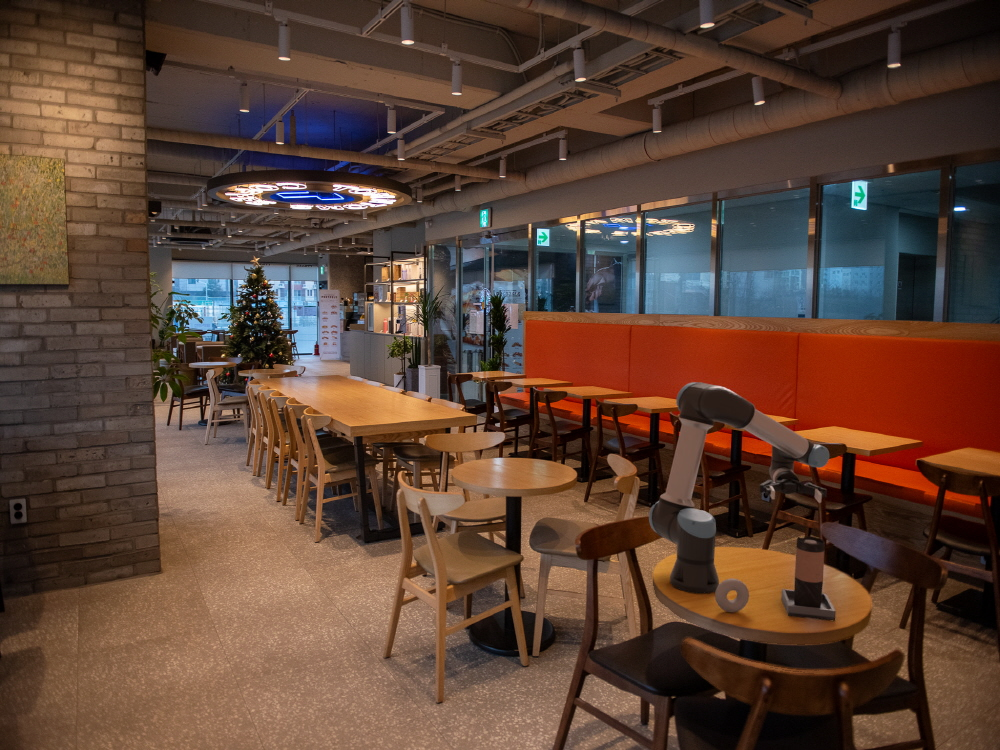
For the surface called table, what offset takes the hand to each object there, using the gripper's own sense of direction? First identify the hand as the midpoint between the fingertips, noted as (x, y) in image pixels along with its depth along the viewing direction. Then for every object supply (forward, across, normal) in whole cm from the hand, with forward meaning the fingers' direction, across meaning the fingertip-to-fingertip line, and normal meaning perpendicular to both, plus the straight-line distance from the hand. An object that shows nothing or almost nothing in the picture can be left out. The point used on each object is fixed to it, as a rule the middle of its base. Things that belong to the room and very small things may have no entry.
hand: (796, 496), depth 215 cm
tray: (+15, -2, -30) cm, 33 cm away
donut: (+23, +20, -30) cm, 43 cm away
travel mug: (+15, -2, -29) cm, 33 cm away
